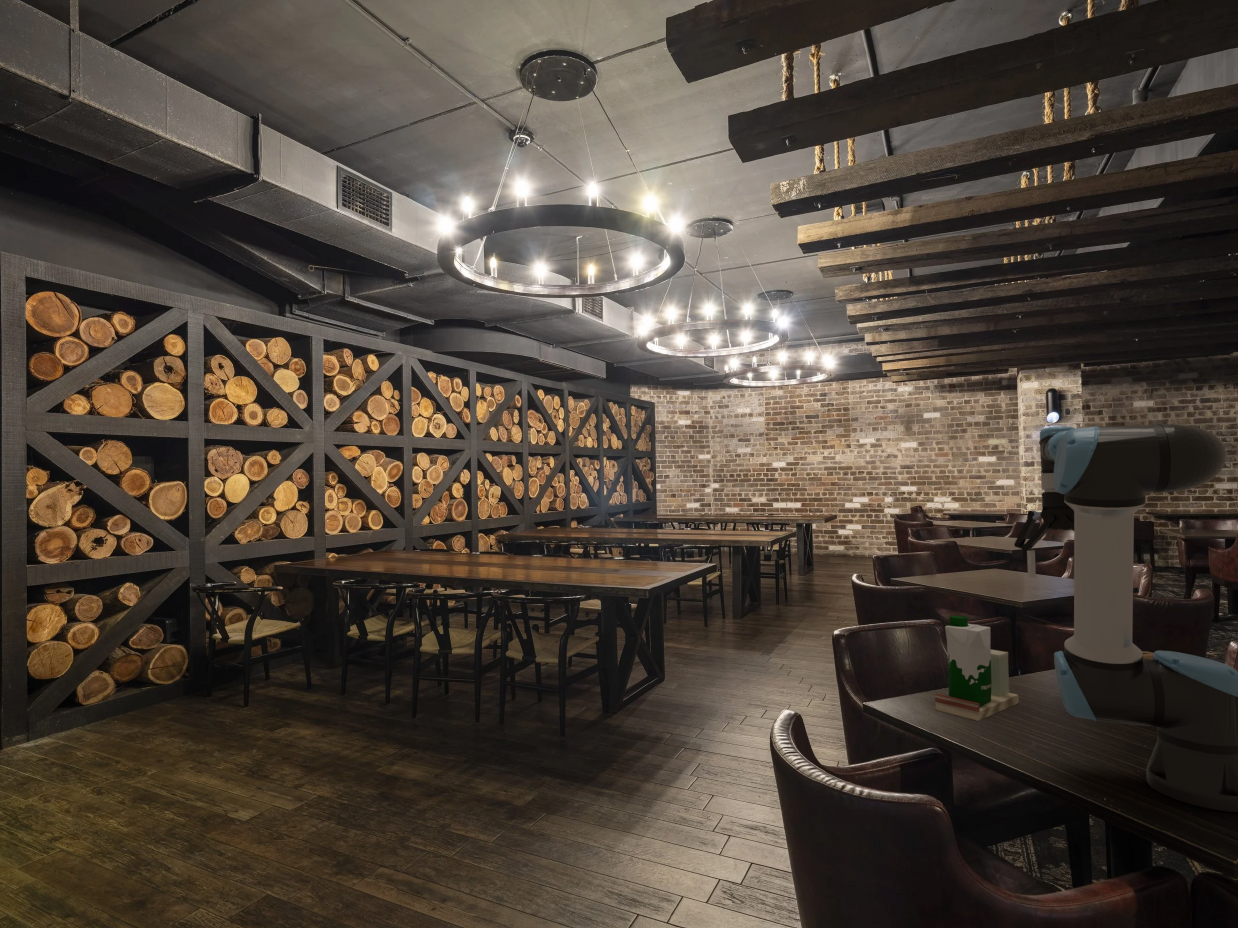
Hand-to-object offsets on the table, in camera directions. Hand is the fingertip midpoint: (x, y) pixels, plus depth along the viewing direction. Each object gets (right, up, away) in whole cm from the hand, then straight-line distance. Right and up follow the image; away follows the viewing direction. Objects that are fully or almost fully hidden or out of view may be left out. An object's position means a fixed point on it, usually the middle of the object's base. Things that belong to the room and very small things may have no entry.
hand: (1063, 579), depth 158 cm
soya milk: (-21, -30, +2) cm, 37 cm away
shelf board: (-18, -32, +4) cm, 37 cm away
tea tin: (-12, -30, +9) cm, 34 cm away
